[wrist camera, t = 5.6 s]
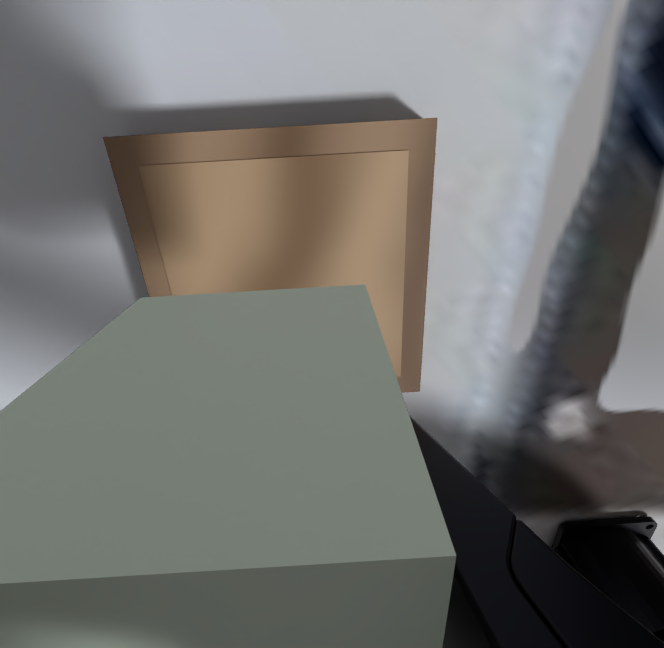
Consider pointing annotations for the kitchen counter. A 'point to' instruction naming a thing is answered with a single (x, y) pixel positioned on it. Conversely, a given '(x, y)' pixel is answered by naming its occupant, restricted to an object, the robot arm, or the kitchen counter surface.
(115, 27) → the kitchen counter surface
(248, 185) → the plinth
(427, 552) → the block
